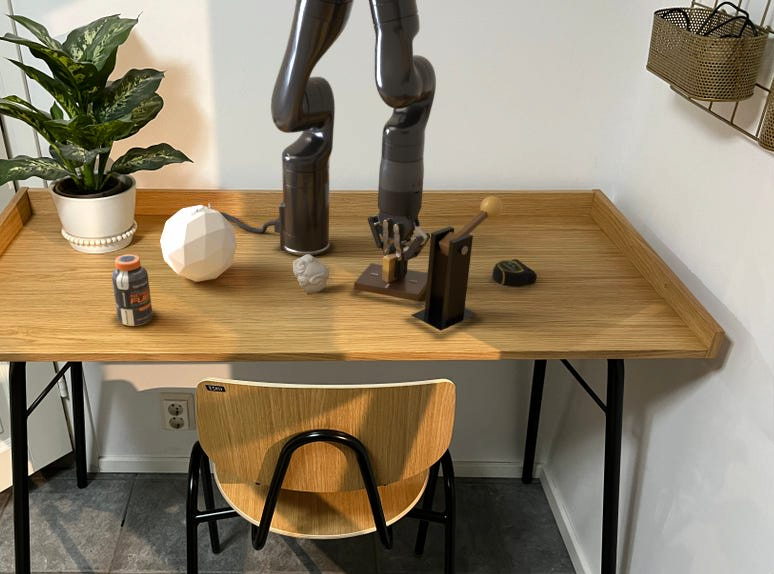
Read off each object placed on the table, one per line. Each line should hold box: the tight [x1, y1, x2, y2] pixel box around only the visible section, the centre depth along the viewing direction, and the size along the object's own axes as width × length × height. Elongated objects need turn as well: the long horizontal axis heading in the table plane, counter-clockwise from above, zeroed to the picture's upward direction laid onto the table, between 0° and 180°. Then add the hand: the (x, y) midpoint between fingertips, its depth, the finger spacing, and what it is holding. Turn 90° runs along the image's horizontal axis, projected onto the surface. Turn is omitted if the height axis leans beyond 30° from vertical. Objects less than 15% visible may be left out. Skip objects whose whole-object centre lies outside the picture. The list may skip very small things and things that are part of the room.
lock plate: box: [353, 262, 428, 302], centre depth 140 cm, size 12×9×3 cm
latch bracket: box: [411, 225, 478, 332], centre depth 127 cm, size 9×7×16 cm
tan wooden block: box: [382, 249, 406, 283], centre depth 139 cm, size 5×2×5 cm, turn 130°
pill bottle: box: [111, 254, 154, 327], centre depth 130 cm, size 6×6×11 cm
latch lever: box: [439, 195, 504, 256], centre depth 125 cm, size 13×4×4 cm, turn 127°
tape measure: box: [491, 258, 538, 288], centre depth 142 cm, size 7×7×4 cm
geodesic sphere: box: [159, 204, 237, 283], centre depth 144 cm, size 15×14×14 cm
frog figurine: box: [292, 254, 330, 295], centre depth 139 cm, size 6×7×7 cm
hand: (395, 274), depth 140 cm, fingers closed on tan wooden block
